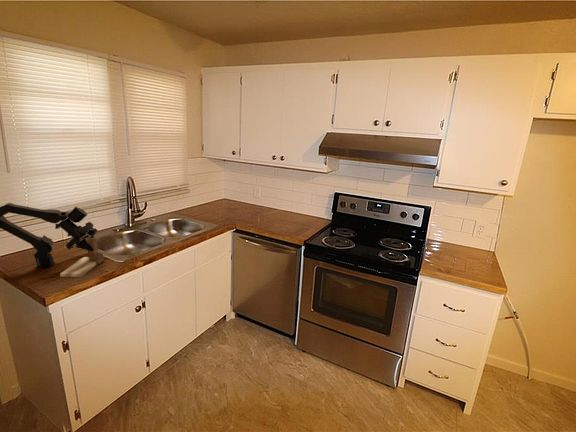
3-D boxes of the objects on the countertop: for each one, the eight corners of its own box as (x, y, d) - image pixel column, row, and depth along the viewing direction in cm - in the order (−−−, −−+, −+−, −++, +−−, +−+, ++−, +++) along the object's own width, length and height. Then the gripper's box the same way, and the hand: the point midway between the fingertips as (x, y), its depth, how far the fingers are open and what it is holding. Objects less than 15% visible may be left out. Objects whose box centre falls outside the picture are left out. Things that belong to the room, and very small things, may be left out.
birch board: (60, 276, 153) (59, 273, 153) (83, 259, 172) (83, 256, 172) (81, 276, 154) (81, 273, 153) (102, 259, 173) (102, 257, 173)
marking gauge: (87, 264, 166) (83, 240, 163) (92, 260, 171) (89, 237, 167) (99, 264, 167) (95, 240, 163) (103, 260, 171) (100, 237, 168)
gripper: (68, 224, 153) (93, 246, 156) (92, 214, 171) (114, 234, 174) (55, 238, 156) (80, 260, 158) (80, 227, 174) (102, 246, 176)
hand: (95, 249), depth 167 cm, fingers closed on marking gauge, 4 cm apart
